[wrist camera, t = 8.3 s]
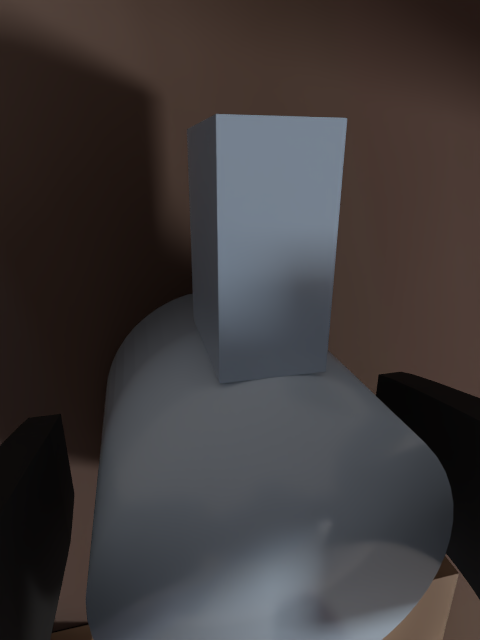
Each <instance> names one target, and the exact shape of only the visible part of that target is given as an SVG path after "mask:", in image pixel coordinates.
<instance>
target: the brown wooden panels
mask: <svg viewBox="0 0 480 640" xmlns="http://www.w3.org/2000/svg"><path fill="white" fill-rule="evenodd" d="M458 575H459V573H458V572H457V570H456V569H455V568H454V567H453V565H452V564H451V563H450V562H449V560H448V559H447V558H446V557H445V556H444V559H443V561H442V563H441V566H440V568H439V570H438V572H437V574H436V576H435V577H434V579H433V581H432V583H431V584H430V586H429V588H428V589H427V591H426V592H425V593H424V595H423V596H422V598H421V599H420V600H419V602H418V603H417V605H416V606H415V607H414V608H413V609H412V610H411V612H410V613H409V614H408V615H407V616H406V617H405V618H404V620H403V621H401V622H400V623H399V624H398V625H397V626H396V627H395V628H394V629H393V630H392V631H391V632H390V633H389V634H388V635H387V636H386V637H384V638H383V639H382V640H442V639H443V635H444V631H445V627H446V623H447V619H448V615H449V611H450V607H451V603H452V599H453V595H454V591H455V587H456V583H457V579H458ZM50 640H93V638H92V634H91V631H90V627H89V625H85V626H81V627H76V628H72V629H68V630H63V631H59V632H55V633H51V638H50Z"/></svg>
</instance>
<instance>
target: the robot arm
mask: <svg viewBox="0 0 480 640" xmlns="http://www.w3.org/2000/svg"><path fill="white" fill-rule="evenodd" d="M376 397H378V398H379V399H380V400H381V401H382V402H383V403H384V404H385V405H386V406H387V407H388V408H389V409H390V410H391V411H392V412H393V413H394V414H395V415H396V416H397V417H398V418H400V419H401V420H402V421H403V422H404V423H405V424H406V425H407V426H408V427H409V428H410V429H411V430H412V431H413V432H414V433H415V434H416V435H417V436H418V437H419V438H420V439H421V440H423V441H424V442H425V443H426V445H427V446H428V447H429V448H430V449H431V450H432V452H433V453H434V454H435V455H436V456H437V458H438V459H439V461H440V463H441V465H442V466H443V468H444V470H445V472H446V475H447V478H448V481H449V484H450V486H451V492H452V498H453V525H452V531H451V537H450V541H449V544H448V547H447V551H446V554H447V555H448V556H449V557H450V559H451V560H452V561H453V563H454V564H455V565H456V566H457V568H458V569H459V570H460V572H461V573H462V575H463V576H464V577H465V579H466V580H467V581H468V583H469V584H470V586H471V587H472V588H473V590H474V592H475V593H476V595H477V596H478V598H479V599H480V398H478V397H475V396H472V395H470V394H467V393H464V392H462V391H459V390H456V389H453V388H451V387H448V386H445V385H443V384H440V383H437V382H434V381H431V380H428V379H425V378H422V377H419V376H416V375H412V374H409V373H404V372H395V373H387V374H379V376H378V384H377V392H376ZM73 506H74V489H73V483H72V477H71V471H70V466H69V460H68V454H67V448H66V442H65V436H64V431H63V425H62V419H61V414H57V415H49V416H41V417H33V418H28V419H27V420H26V421H25V422H24V423H23V424H21V425H20V426H19V427H18V428H17V429H16V430H15V431H14V432H13V433H12V434H11V435H10V436H9V437H8V438H7V439H6V440H5V441H4V442H3V443H2V444H1V445H0V640H50V638H51V633H52V629H53V624H54V619H55V614H56V610H57V605H58V600H59V595H60V591H61V586H62V581H63V576H64V571H65V566H66V561H67V557H68V552H69V546H70V541H71V530H72V519H73Z"/></svg>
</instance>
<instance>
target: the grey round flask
mask: <svg viewBox="0 0 480 640" xmlns="http://www.w3.org/2000/svg"><path fill="white" fill-rule="evenodd" d="M346 126H347V118H329V117H296V116H262V115H229V114H215V115H213V116H211V117H209V118H208V119H206V120H204V121H202V122H200V123H198V124H196V125H194V126H192V127H190V128H189V129H187V143H188V171H189V199H190V228H191V256H192V284H193V293H192V294H188V295H185V296H182V297H179V298H177V299H174V300H172V301H170V302H168V303H166V304H164V305H163V306H161V307H159V308H157V309H156V310H154V311H153V312H152V313H150V314H149V315H148V316H146V317H145V318H144V319H143V320H142V321H141V322H140V323H138V324H137V325H136V326H135V327H134V328H133V330H132V331H131V332H130V333H129V334H128V336H127V337H126V338H125V339H124V341H123V343H122V344H121V346H120V347H119V349H118V351H117V353H116V355H115V357H114V360H113V362H112V364H111V368H110V371H109V375H108V380H107V388H106V398H105V408H104V419H103V429H102V439H101V449H100V459H99V470H98V480H97V490H96V500H95V510H94V521H93V531H92V541H91V551H90V561H89V572H88V582H87V592H86V609H87V620H88V624H89V627H90V631H91V634H92V638H93V640H382V639H383V638H384V637H386V636H387V635H388V634H389V633H390V632H391V631H392V630H393V629H394V628H395V627H396V626H397V625H398V624H399V623H400V622H401V621H403V620H404V618H405V617H406V616H407V615H408V614H409V613H410V612H411V610H412V609H413V608H414V607H415V606H416V605H417V603H418V602H419V600H420V599H421V598H422V596H423V595H424V593H425V592H426V591H427V589H428V588H429V586H430V584H431V583H432V581H433V579H434V577H435V576H436V574H437V572H438V570H439V568H440V566H441V563H442V561H443V559H444V556H445V554H446V551H447V547H448V544H449V541H450V537H451V531H452V525H453V498H452V492H451V486H450V484H449V481H448V478H447V475H446V472H445V470H444V468H443V466H442V465H441V463H440V461H439V459H438V458H437V456H436V455H435V454H434V453H433V452H432V450H431V449H430V448H429V447H428V446H427V445H426V443H425V442H424V441H423V440H421V439H420V438H419V437H418V436H417V435H416V434H415V433H414V432H413V431H412V430H411V429H410V428H409V427H408V426H407V425H406V424H405V423H404V422H403V421H402V420H401V419H400V418H398V417H397V416H396V415H395V414H394V413H393V412H392V411H391V410H390V409H389V408H388V407H387V406H386V405H385V404H384V403H383V402H382V401H381V400H380V399H379V398H378V397H376V396H375V395H374V394H373V393H372V392H371V391H370V390H369V389H368V388H367V387H366V386H365V385H364V384H363V383H362V382H361V381H360V380H359V379H358V378H357V377H356V376H354V375H353V374H352V373H351V372H350V371H349V370H348V369H347V368H346V367H345V366H344V365H343V364H342V363H341V362H340V361H339V360H338V359H337V358H336V357H335V356H334V355H333V354H331V353H330V352H329V351H328V339H329V328H330V316H331V304H332V292H333V280H334V268H335V256H336V245H337V233H338V221H339V209H340V197H341V185H342V173H343V162H344V150H345V138H346Z"/></svg>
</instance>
